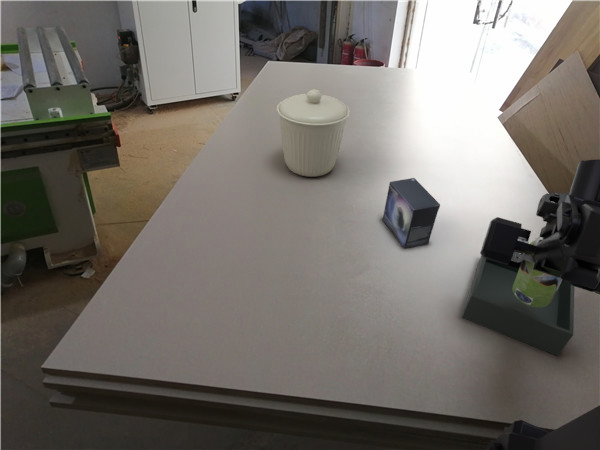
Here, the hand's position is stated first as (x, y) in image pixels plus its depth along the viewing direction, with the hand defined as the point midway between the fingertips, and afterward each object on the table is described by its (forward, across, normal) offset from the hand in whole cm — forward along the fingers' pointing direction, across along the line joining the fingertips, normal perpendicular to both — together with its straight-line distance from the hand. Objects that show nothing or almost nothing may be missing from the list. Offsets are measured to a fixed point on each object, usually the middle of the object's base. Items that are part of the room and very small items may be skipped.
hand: (538, 262), depth 65 cm
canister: (+28, +53, -12) cm, 61 cm away
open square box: (+10, 0, +7) cm, 12 cm away
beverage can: (+4, 0, +6) cm, 7 cm away
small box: (+18, +23, -1) cm, 29 cm away
